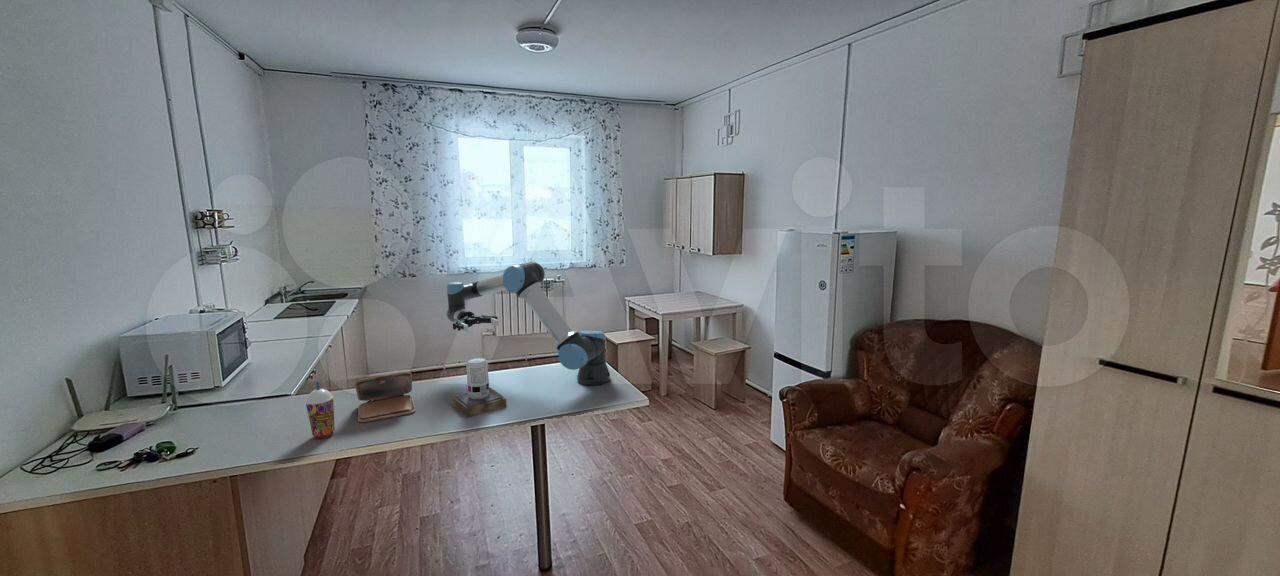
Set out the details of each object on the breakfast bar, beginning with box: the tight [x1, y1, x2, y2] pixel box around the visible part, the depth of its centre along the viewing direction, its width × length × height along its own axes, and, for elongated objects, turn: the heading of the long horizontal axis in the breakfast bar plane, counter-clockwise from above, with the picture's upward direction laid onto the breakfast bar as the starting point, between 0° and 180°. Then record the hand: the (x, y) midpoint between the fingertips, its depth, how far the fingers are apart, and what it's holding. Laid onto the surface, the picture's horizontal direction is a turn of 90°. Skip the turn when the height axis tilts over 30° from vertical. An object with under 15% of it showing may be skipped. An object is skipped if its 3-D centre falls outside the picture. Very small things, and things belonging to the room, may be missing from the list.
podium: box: [452, 387, 508, 418], centre depth 205 cm, size 16×16×4 cm
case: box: [354, 370, 417, 424], centre depth 201 cm, size 20×21×16 cm
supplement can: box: [465, 357, 490, 399], centre depth 203 cm, size 8×8×15 cm
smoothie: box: [305, 381, 336, 440], centre depth 178 cm, size 8×8×20 cm
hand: (482, 325), depth 218 cm, fingers open, 13 cm apart
